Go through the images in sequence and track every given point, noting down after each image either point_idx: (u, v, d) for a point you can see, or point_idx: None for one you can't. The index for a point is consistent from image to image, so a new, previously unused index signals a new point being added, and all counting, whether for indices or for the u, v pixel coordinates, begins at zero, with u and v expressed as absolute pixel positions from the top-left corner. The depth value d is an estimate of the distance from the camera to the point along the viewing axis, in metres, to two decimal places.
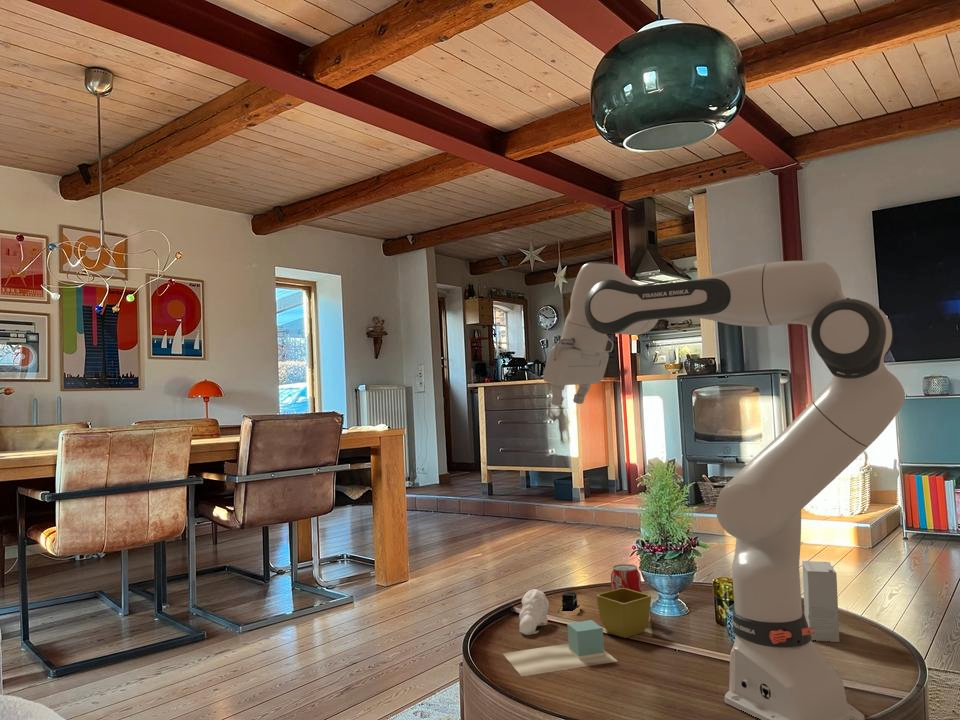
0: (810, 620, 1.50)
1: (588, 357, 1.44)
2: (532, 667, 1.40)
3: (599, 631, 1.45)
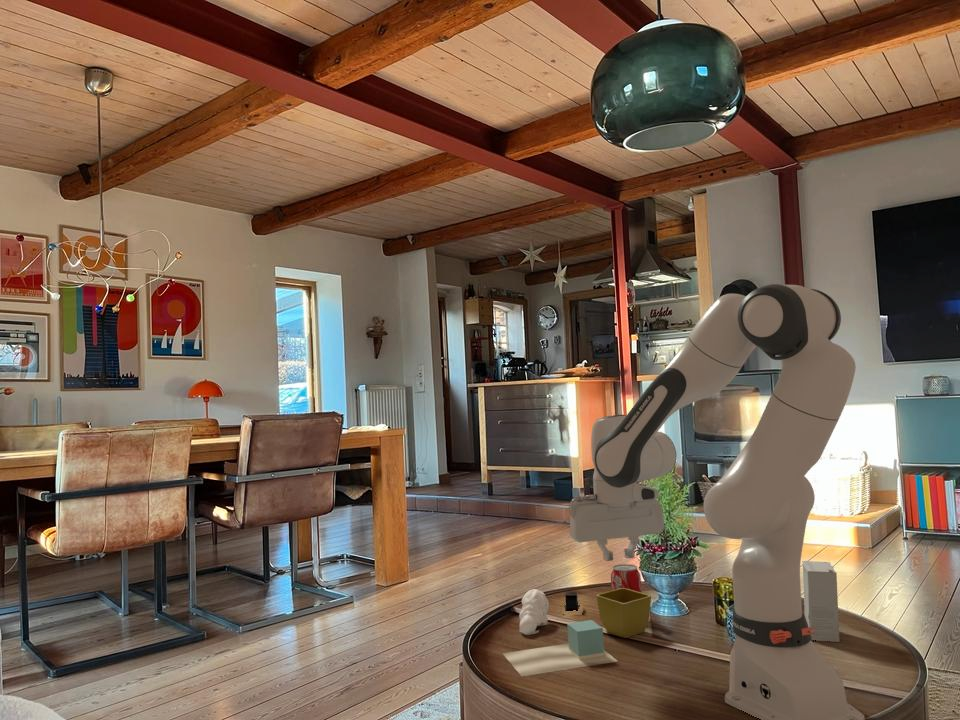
0: (810, 620, 1.50)
1: (615, 509, 1.47)
2: (532, 667, 1.40)
3: (599, 631, 1.45)
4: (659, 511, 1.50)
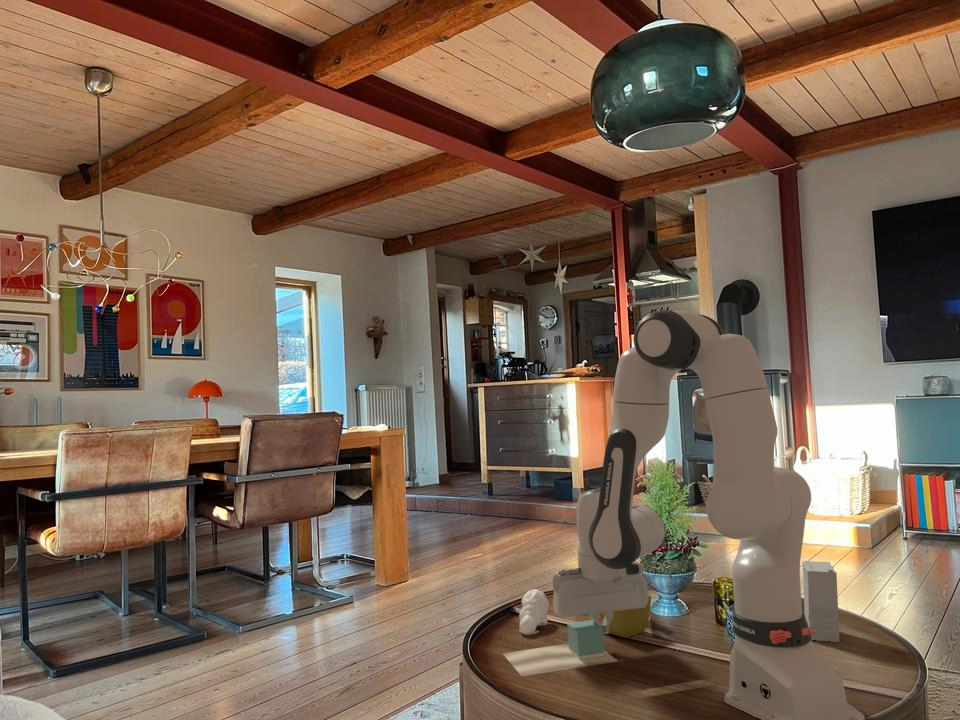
0: (810, 620, 1.50)
1: (598, 585, 1.46)
2: (532, 667, 1.40)
3: (599, 631, 1.45)
4: (643, 586, 1.49)
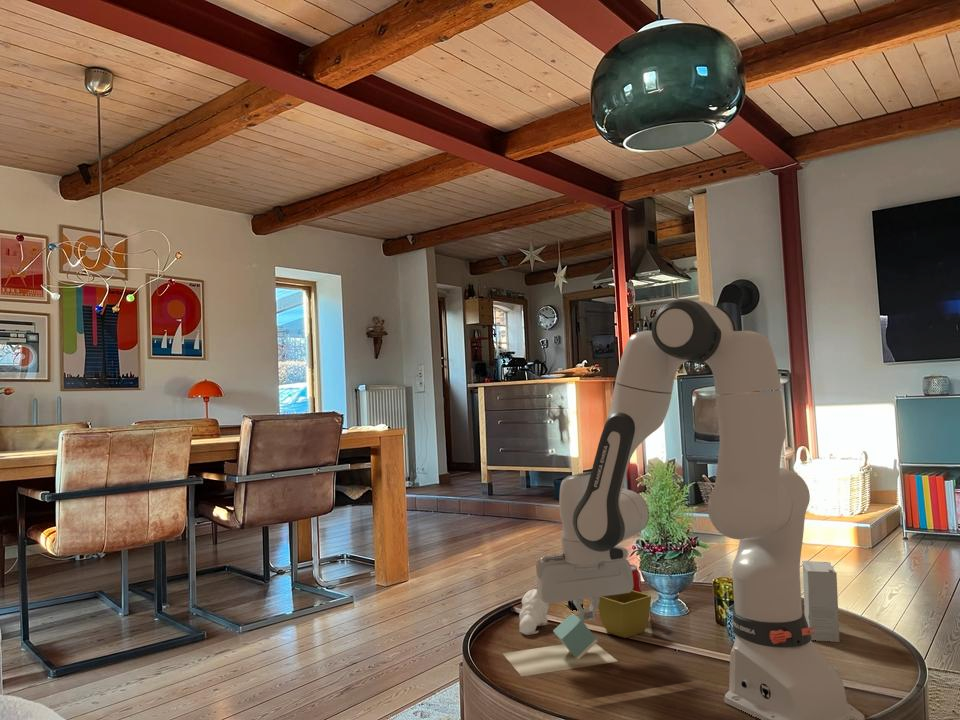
0: (810, 620, 1.50)
1: (582, 570, 1.44)
2: (532, 667, 1.40)
3: (580, 625, 1.43)
4: (628, 570, 1.47)
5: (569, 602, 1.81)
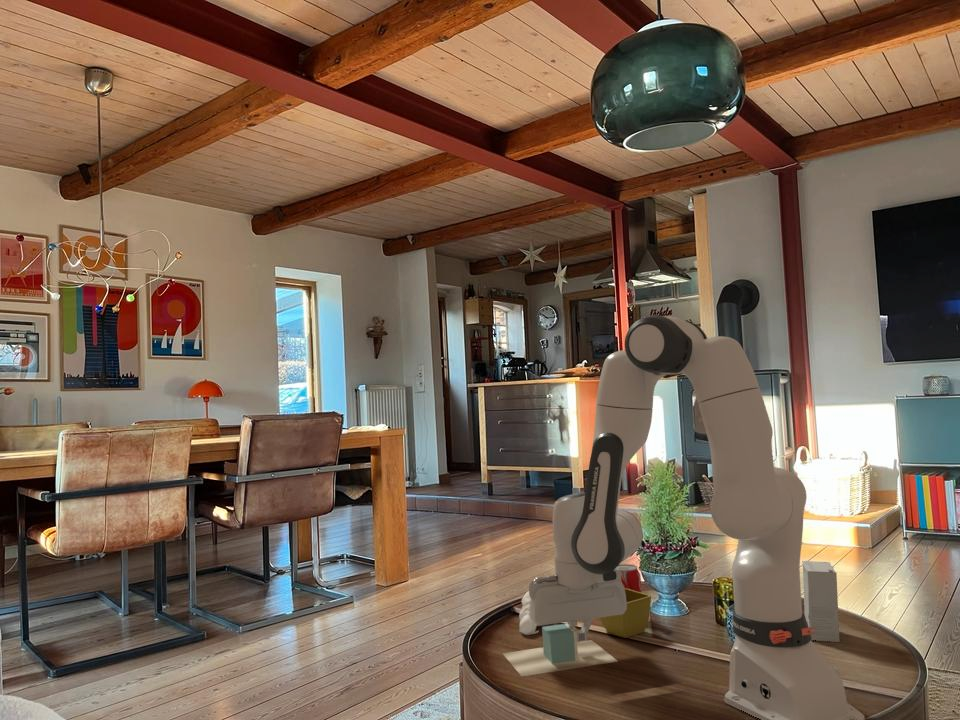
0: (810, 620, 1.50)
1: (575, 592, 1.44)
2: (532, 667, 1.40)
3: (553, 638, 1.42)
4: (621, 592, 1.47)
5: None
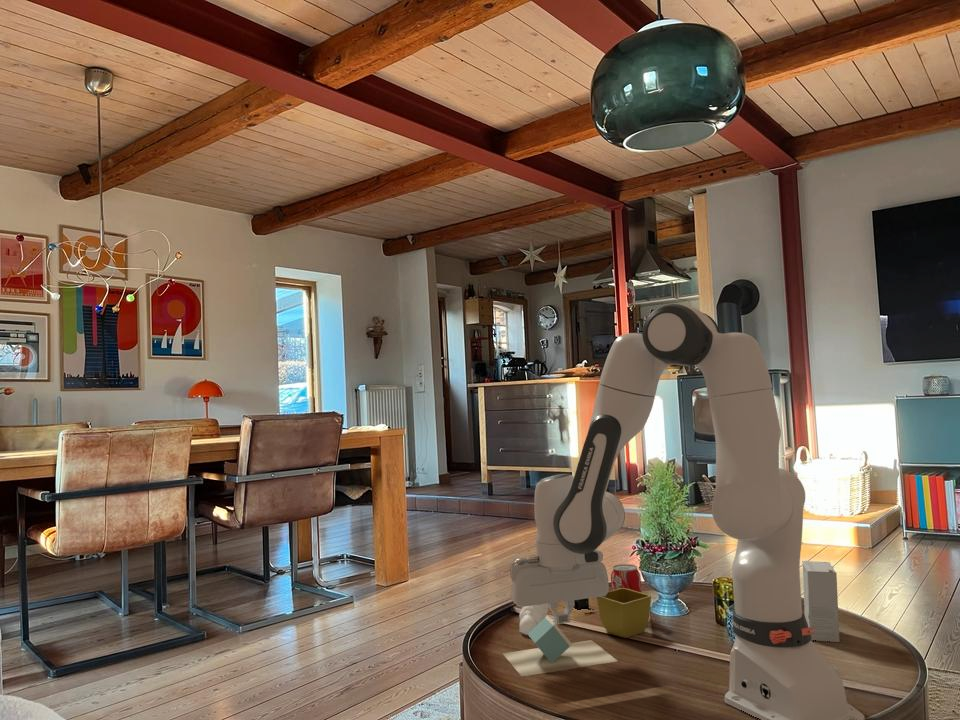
0: (810, 620, 1.50)
1: (557, 573, 1.43)
2: (532, 667, 1.40)
3: (539, 643, 1.41)
4: (603, 573, 1.46)
5: None
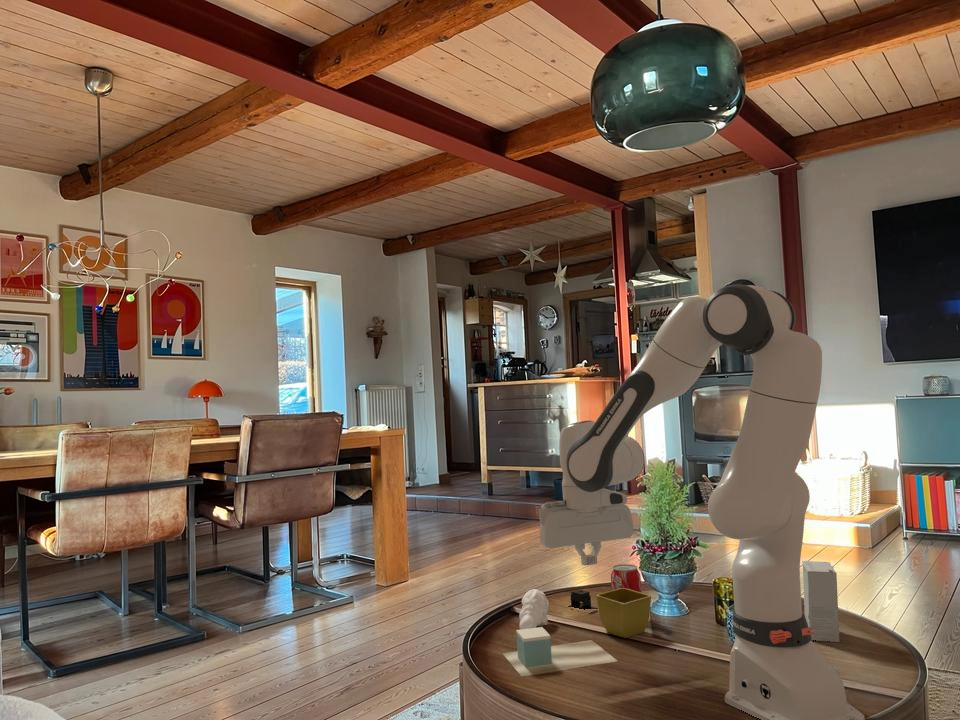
0: (810, 620, 1.50)
1: (584, 515, 1.48)
2: (532, 667, 1.40)
3: (528, 663, 1.41)
4: (628, 515, 1.51)
5: (572, 602, 1.81)
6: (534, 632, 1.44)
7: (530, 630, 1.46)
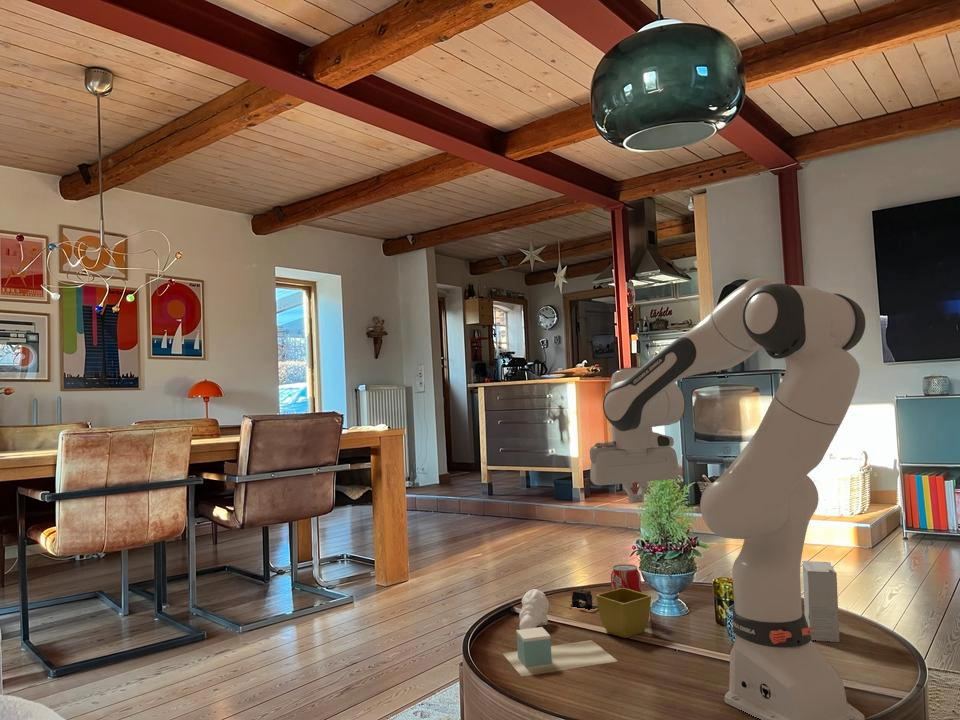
0: (810, 620, 1.50)
1: (632, 455, 1.57)
2: (532, 667, 1.40)
3: (528, 663, 1.41)
4: (674, 458, 1.60)
5: (573, 602, 1.81)
6: (534, 632, 1.44)
7: (530, 630, 1.46)
